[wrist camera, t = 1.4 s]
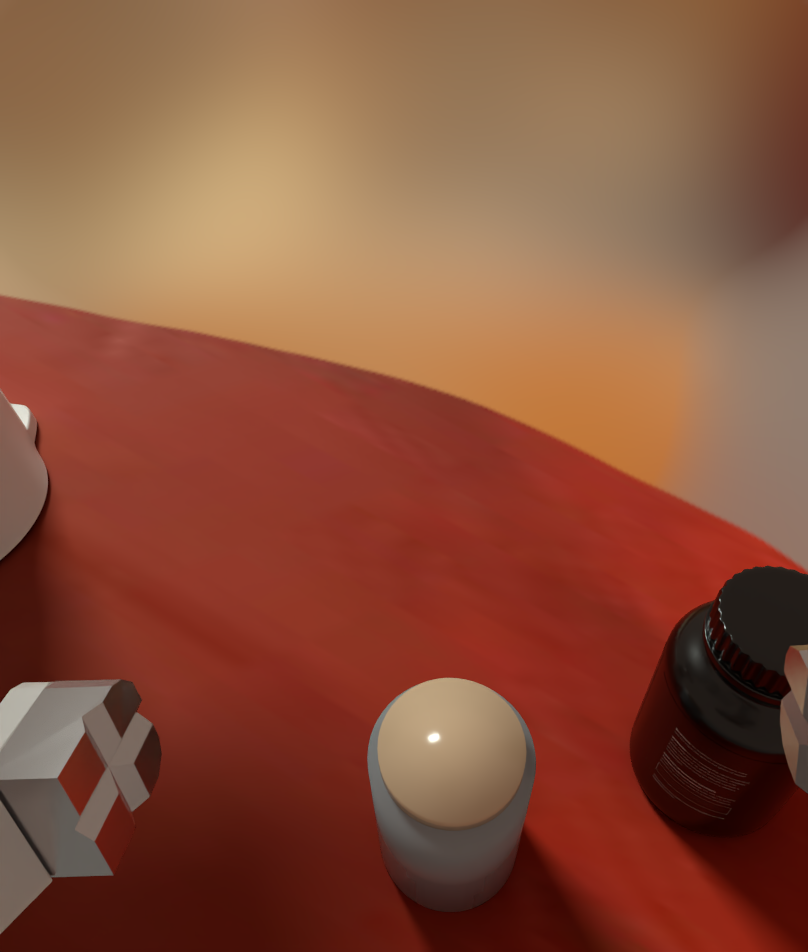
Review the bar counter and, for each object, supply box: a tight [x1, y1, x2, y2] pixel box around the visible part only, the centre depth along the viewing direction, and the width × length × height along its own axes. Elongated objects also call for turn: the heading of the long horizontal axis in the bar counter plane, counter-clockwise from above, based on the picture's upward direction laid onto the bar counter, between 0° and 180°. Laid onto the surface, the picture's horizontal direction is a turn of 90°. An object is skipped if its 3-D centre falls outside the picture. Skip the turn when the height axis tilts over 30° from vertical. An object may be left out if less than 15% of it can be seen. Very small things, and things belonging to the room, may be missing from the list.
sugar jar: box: [367, 678, 536, 912], centre depth 30 cm, size 6×6×9 cm
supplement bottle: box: [630, 566, 808, 837], centre depth 31 cm, size 7×7×12 cm
